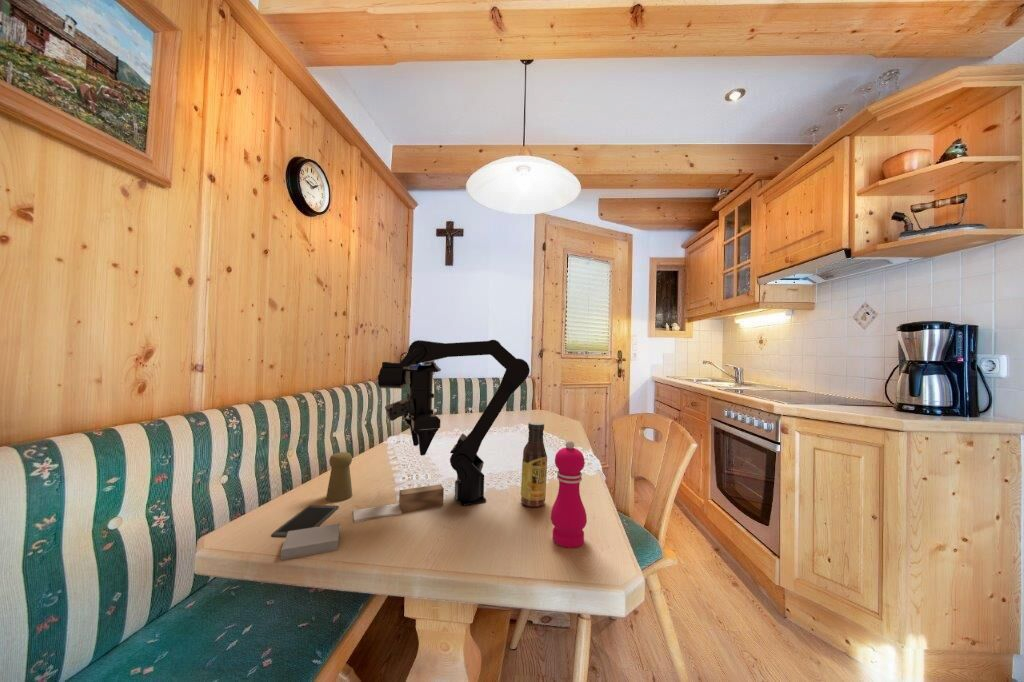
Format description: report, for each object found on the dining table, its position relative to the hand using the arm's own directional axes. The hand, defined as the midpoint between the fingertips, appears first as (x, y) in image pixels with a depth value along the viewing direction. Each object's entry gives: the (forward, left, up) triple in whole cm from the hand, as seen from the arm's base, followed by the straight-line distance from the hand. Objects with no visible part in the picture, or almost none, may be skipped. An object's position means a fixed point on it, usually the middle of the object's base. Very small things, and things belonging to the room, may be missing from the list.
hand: (419, 450), depth 90 cm
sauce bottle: (-26, +14, -12) cm, 32 cm away
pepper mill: (-24, +32, -12) cm, 42 cm away
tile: (+18, +14, -11) cm, 26 cm away
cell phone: (+24, +3, -13) cm, 27 cm away
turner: (+5, +5, -12) cm, 14 cm away
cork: (+18, -8, -12) cm, 23 cm away
